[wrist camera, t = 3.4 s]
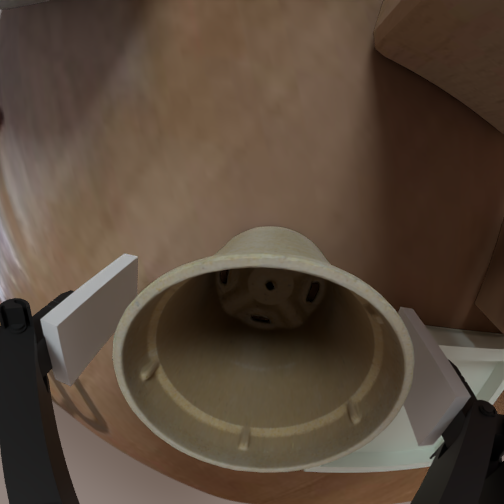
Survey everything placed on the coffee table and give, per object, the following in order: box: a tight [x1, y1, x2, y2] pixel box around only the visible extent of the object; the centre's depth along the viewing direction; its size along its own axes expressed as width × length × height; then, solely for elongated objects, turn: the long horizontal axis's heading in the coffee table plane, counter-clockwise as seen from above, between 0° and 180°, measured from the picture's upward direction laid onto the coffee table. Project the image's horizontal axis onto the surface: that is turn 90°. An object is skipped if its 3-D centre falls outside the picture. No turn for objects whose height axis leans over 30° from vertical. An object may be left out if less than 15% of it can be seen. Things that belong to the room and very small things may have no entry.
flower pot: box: [112, 226, 415, 473], centre depth 12 cm, size 9×9×9 cm
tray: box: [304, 325, 504, 473], centre depth 18 cm, size 14×14×2 cm
